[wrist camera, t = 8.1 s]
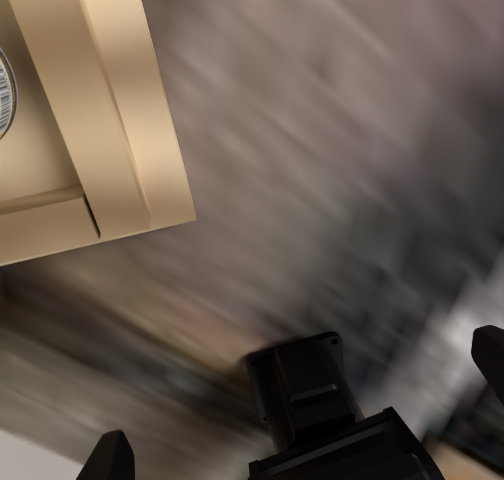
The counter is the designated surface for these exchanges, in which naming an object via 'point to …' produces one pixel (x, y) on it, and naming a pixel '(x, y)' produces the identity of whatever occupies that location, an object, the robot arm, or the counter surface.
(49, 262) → the counter surface
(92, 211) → the stand
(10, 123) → the supplement bottle
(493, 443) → the counter surface
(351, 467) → the robot arm
